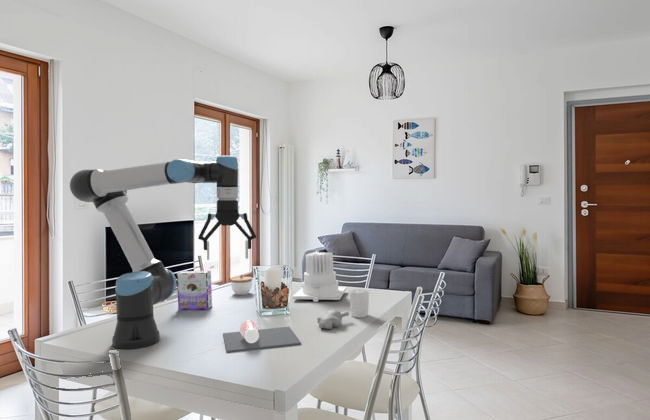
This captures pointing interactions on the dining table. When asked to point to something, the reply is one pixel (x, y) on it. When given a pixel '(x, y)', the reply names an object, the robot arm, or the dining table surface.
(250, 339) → the beverage cup
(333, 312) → the bunny figurine
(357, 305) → the white cup
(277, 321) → the dining table surface
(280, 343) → the mat
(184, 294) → the candy box
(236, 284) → the lidded jar
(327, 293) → the white finned lamp
